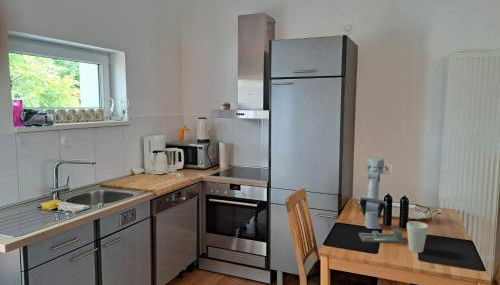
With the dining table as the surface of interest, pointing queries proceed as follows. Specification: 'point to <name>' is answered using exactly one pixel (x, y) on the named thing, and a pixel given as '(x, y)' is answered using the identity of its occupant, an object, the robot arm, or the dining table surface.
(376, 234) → the gauge follower
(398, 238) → the gauge base
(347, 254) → the dining table surface
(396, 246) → the dining table surface
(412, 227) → the foam cup
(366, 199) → the robot arm
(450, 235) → the dining table surface
